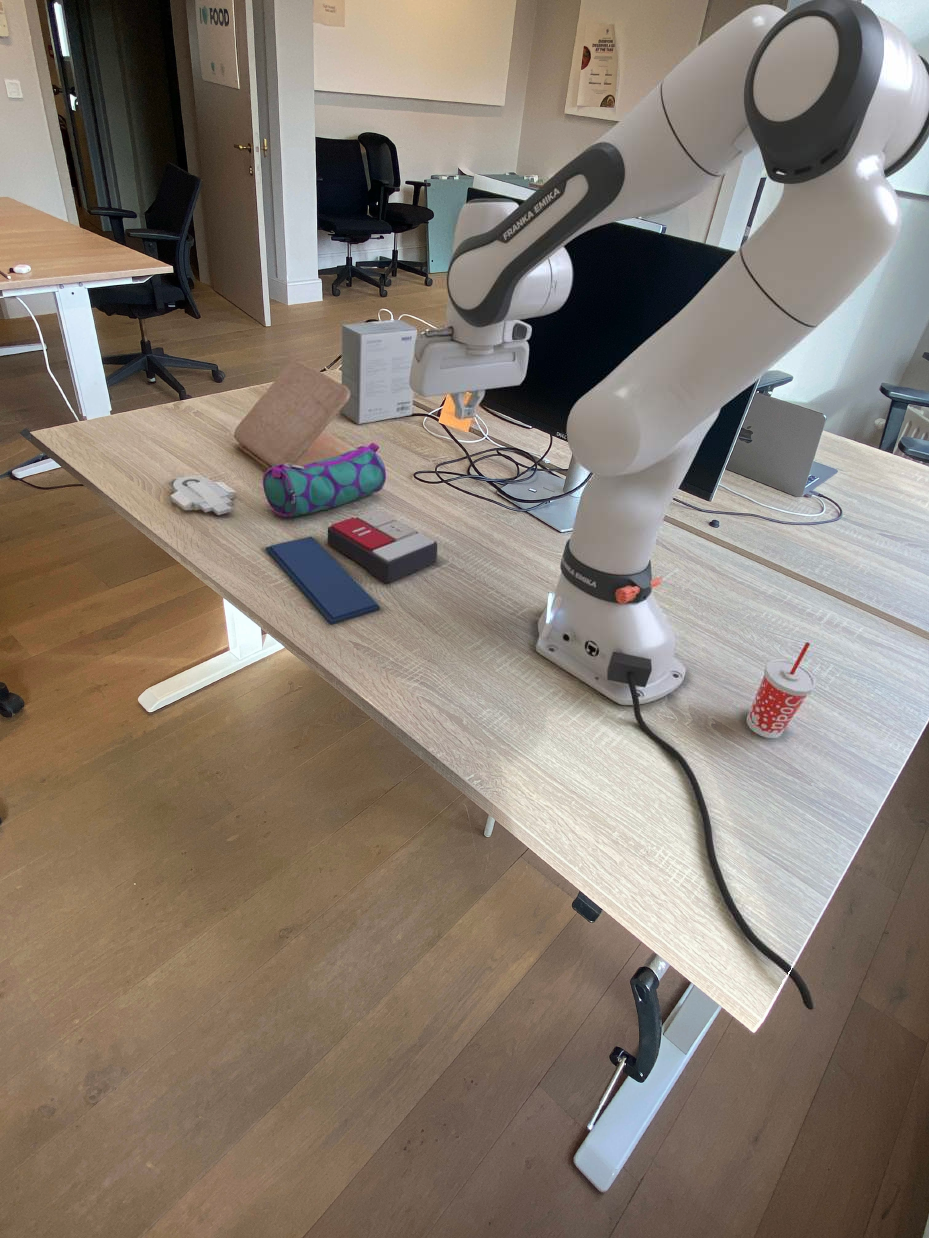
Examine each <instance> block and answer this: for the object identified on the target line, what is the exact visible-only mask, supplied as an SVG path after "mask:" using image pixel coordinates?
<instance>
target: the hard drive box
mask: <svg viewBox="0 0 929 1238" xmlns="http://www.w3.org/2000/svg"><path fill="white" fill-rule="evenodd" d="M418 330H419V329H418V328H417V327H416V326H414V325H412V324H409V323H407V322H405V321H403V320H401V319H389V320H377V321H369V322H357V323H348V324H341V384H342V385H344V386H346V387H347V388H348V389H349V391H350V398H349V400H348V402H347V403H346V404H345V406H344V407H343V408H342V409H341V414H342V415H343V416H345V417H346V418H348V419H349V420H351V421H352V422H354V423H355V424H357V425H362V424H367V423H375V422H378V421H379V422H380V421H383V420H384V421H385V420H389V419H398V418H403V417H407V416H412V415H413V407H414V406H413V405H414V391H413V390H412V389H411V387H410V385H409V377H410V370H411V364H412V359H413V355H414V347H415V340H416V338H417V337H418V332H419V331H418Z"/></svg>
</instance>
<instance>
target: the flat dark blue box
mask: <svg viewBox="0 0 929 1238" xmlns="http://www.w3.org/2000/svg"><path fill="white" fill-rule="evenodd" d="M265 551H266V552H267V553H268V554H269V555H270V556H271V558H272V560H274V561H275V562H276V564H278V566H279V567H280V568H281V569H282V571H284V573H285V574H286V575H287V576H288V577H289V578H290V580H291V581H292V582H293V583H294V585H295V586H296V587H297V588H298V589H299V590H300V591H301V592H302V593H303V594H304V596H305V597H306V598H307V599H308V600H309V602H310V603H311V605H313V606H314V607H315V608H316V609H317V611H318V612H319V613H320V614H321V615H322V616H323V617H324V619H325V620H326V621H327V622H328V624H329V625H333V624H337V623H341V622H343V621H346V620H349V619H353V618H357V617H360V616H363V615H366V614H369V613H373V612H375V611H376V612H377V611H379V610H380V608H381V607H380V605H379V604H378V603H377V602H376V601H375V599H373V598H372V597H371V596H370V594H369V593H367V591H365V590H364V588H363V587H361V585H360V584H359V583H358V582H357V581H356V580H355V579H354V578H353V577H352V576H351V575H350V574H349V573H348V572H347V571H346V570H345V569H344V568H343V567H342V566H341V565H340V564H339V563H338V562H337V561H336V560H335V558H334V557H332V556H331V554H330V553H328V551H327V550H326V549H325V548H324V547H323V546H322V545H320V543H319V542H318V541H317V540H316V539H315V538H314V537H313V536H307V537H302V538H298V539H294V540H290V541H284V542H280V543H276V544H271V545H269V546H267V547H265Z"/></svg>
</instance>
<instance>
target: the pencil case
mask: <svg viewBox="0 0 929 1238" xmlns="http://www.w3.org/2000/svg"><path fill="white" fill-rule="evenodd" d="M356 448H357V449H356V450H352V451H348V452H346V453H344V454H342V455H338V456H335V457H332V458H328V459H324V460H321V461H317V462H314V463H311V464H309V465H304V466H299V465H293V464H290V463H285V464H276V465H274V466H273V467H271V468H270V469H267V470H266V471H265V473H264V475H263V477H262V487H263V488H262V489H263V492H264V495H265V498H266V500H267V503H268V505H269V507H270V508H271V509H272V510H273V512H275V514H277V516H279V517H282V518H294V517H297V516H304V515H311V514H315V513H318V512H321V511H326V510H329V509H333V508H336V507H340V506H342V505H344V504H348V503H351V502H353V501H357V500H358V499H362V498H364V497H367V496H370V495H372V494H375V493H379V492H380V491H381V490H382V489H383V488H384V486H385V483H386V479H387V472H386V471H387V469H386V467H385V463H384V461H383V459H382V458H381V456H380V455H379V454H377V452H378V451H379V449H380V446H379V445H378V444H376V443H375V442H371V443H370V444H369V445H368V446H365V445H361V446H358V447H356ZM288 464H289V465H288Z"/></svg>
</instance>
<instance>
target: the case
mask: <svg viewBox="0 0 929 1238" xmlns="http://www.w3.org/2000/svg"><path fill="white" fill-rule="evenodd" d="M349 398H350V391H349V389H348V388H347V387H346V386H344V385H342V383H341V382H338V381H337V380H335V379H334V378H332V377H330V376H328V375H327V374H325V373H324V372H321V371H320V370H317V369H315V368H313V367H311V366H310V365H308V364H305V363H304V362H302V361H297V360H296V361H293V362H290V363H289V364H288V365H286V367H285V368H284V369H283V370H282V372H281V373H280V374H279V375H278V377H276V379H275V380H274V382H273V383H272V384H271V385H270V386H269V387H268V389H267V390H266V391H265V392H264V393H263V394H262V396H260V398H259V399H258V401H256V403H255V404H254V406H252V408H251V409H250V410H249V411H248V413H247V414H246V415H245V416H244V418H243V419H242V420H241V421H240V423H238V425H237V426H236V427H235V430H234V431H233V437H234V439H235V441H236V442H238V444H237V446H238V448H239V449H240V450H241V451H242V452H243V453H245V454H247V455H248V456H249V457H251V458H252V459H254V460H255V461H256V462H258V463H259V464H260V465H261V466H263V467H264V468H266V469H267V470H268V469H270V468H271V467H273V466H274V465H276V464H285V463H290V464H293V465H299V466H304V465H309V464H311V463H314V462H317V461H321V460H324V459H328V458H332V457H335V456H338V455H342V454H344V453H346V452H348V451H352V450H356V449H357V448H358V447H356V446H355V445H353V444H351V443H350V442H349V441H347V440H345V439H344V438H342V437H340V436H338V435H336V434H335V433H333V432H331V431H330V430H328V429H326V428H327V427H328V425H329V424H330V423H331V422H332V421H333V419H335V417H336V416H337V415H338V414H339V413H340V411H342V408H343V407H344V406H345V404H346V403H347V402H348V400H349ZM288 465H289V464H288Z"/></svg>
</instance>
